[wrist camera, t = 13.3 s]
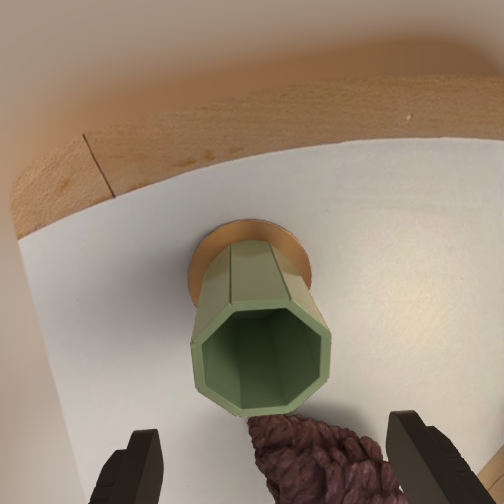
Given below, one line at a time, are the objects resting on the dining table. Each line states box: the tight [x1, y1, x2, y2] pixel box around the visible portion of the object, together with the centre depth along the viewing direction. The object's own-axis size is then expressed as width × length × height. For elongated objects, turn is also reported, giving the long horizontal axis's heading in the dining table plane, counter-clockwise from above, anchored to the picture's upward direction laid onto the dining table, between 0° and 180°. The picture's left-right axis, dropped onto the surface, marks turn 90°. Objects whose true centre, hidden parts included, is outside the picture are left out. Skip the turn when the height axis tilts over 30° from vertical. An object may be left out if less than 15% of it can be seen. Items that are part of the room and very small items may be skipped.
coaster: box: [188, 219, 311, 308], centre depth 24 cm, size 9×9×1 cm
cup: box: [190, 240, 331, 417], centre depth 19 cm, size 6×6×9 cm
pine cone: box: [247, 414, 409, 504], centre depth 26 cm, size 18×10×10 cm
